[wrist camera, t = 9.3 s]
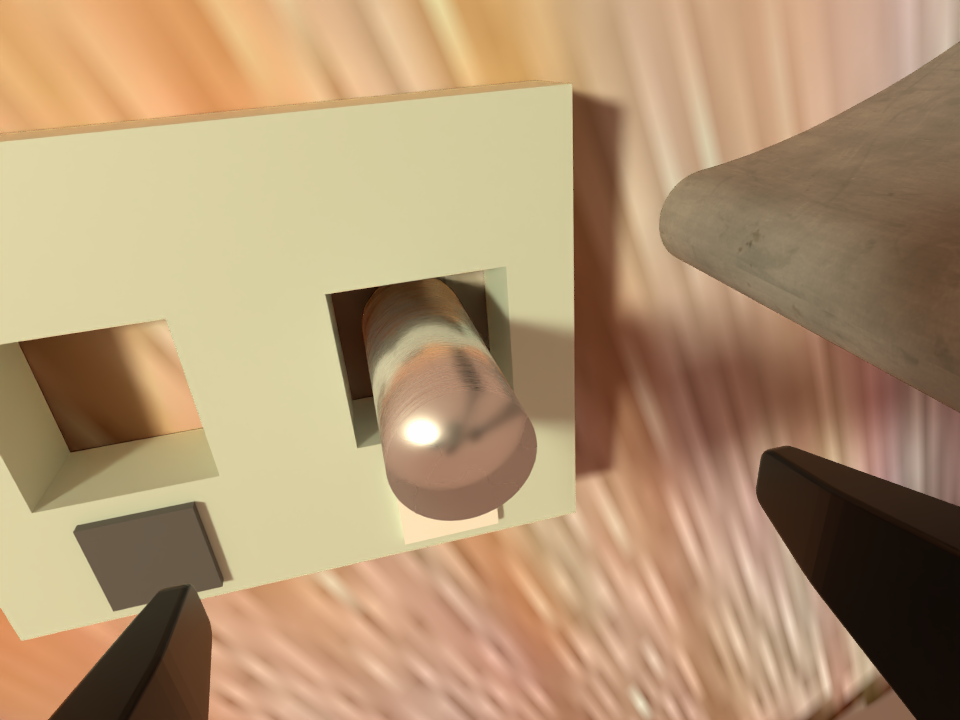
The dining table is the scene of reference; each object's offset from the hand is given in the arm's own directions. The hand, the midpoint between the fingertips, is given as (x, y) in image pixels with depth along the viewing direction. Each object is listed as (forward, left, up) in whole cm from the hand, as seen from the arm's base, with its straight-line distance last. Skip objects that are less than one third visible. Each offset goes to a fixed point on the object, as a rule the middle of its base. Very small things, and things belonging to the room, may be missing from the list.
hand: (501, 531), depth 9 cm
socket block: (+4, +1, -12) cm, 13 cm away
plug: (0, +1, -12) cm, 12 cm away
